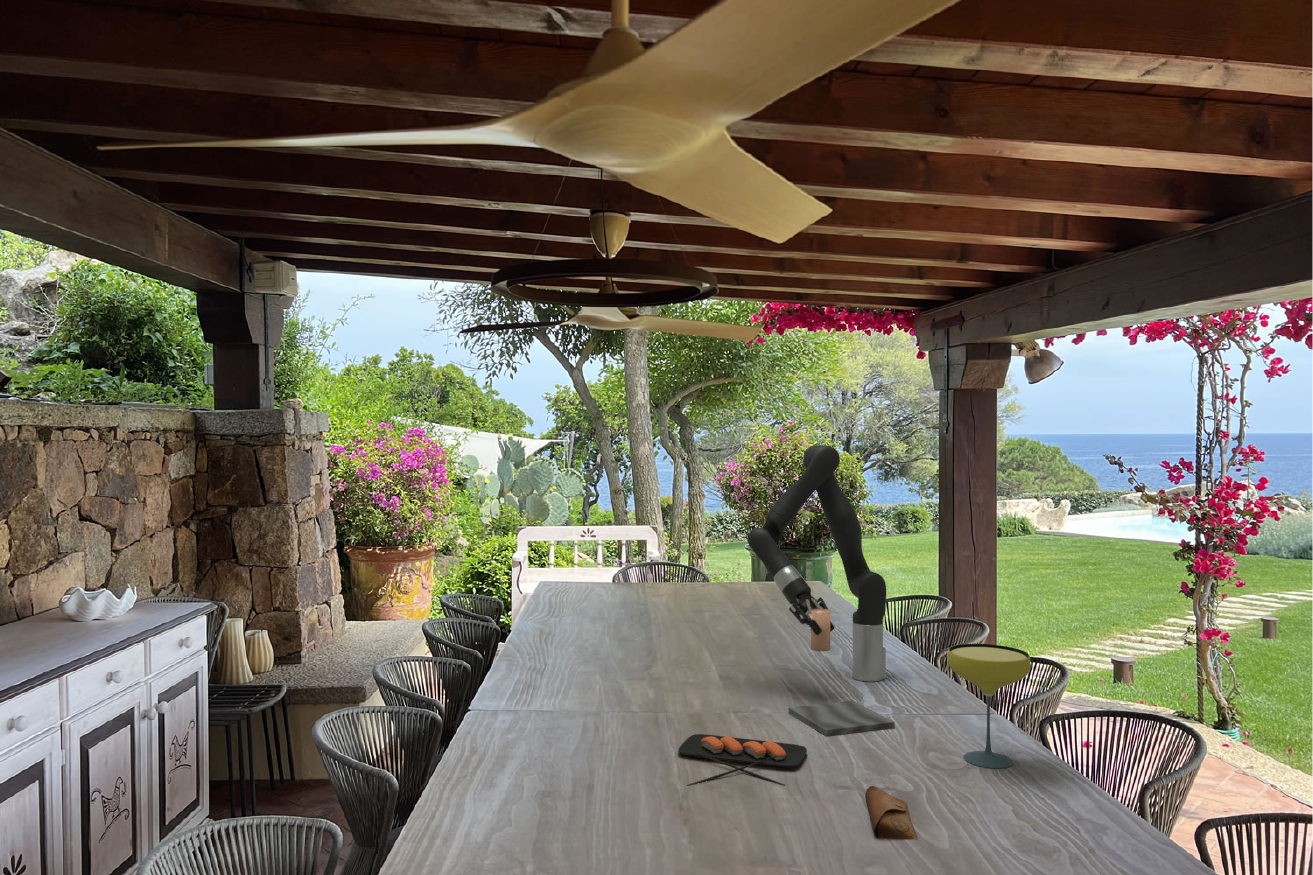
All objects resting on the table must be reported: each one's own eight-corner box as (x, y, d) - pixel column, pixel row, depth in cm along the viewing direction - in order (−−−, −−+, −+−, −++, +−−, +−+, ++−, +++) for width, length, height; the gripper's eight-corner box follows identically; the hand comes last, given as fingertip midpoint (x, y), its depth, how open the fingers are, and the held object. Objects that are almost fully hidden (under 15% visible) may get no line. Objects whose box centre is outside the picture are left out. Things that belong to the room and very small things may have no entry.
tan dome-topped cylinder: (824, 646, 259) (824, 608, 259) (833, 650, 254) (833, 611, 254) (807, 647, 257) (807, 609, 257) (816, 651, 252) (816, 612, 252)
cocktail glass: (1022, 780, 195) (1022, 665, 195) (938, 764, 204) (938, 654, 204) (1036, 755, 210) (1036, 649, 210) (957, 741, 220) (957, 640, 220)
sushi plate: (809, 753, 213) (809, 737, 213) (784, 802, 184) (784, 783, 184) (692, 740, 222) (692, 724, 222) (651, 784, 194) (651, 766, 194)
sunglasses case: (921, 840, 165) (902, 808, 166) (887, 857, 166) (868, 825, 167) (906, 801, 183) (889, 772, 184) (876, 817, 184) (859, 788, 185)
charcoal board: (852, 705, 249) (852, 700, 249) (894, 727, 230) (894, 721, 230) (788, 712, 243) (788, 707, 243) (826, 736, 224) (826, 730, 224)
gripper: (784, 579, 256) (818, 627, 247) (813, 573, 266) (848, 620, 257) (769, 595, 260) (803, 643, 251) (799, 589, 270) (832, 635, 261)
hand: (825, 631), depth 254 cm, fingers closed on tan dome-topped cylinder, 5 cm apart
